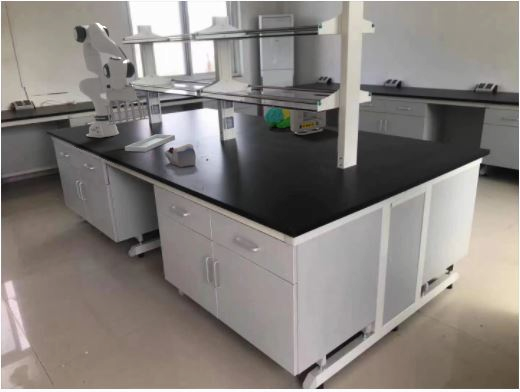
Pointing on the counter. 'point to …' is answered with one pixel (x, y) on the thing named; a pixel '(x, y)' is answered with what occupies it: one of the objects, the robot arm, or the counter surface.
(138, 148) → the tray
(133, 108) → the test tube rack
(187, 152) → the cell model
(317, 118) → the network device
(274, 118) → the brain model
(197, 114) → the counter surface
